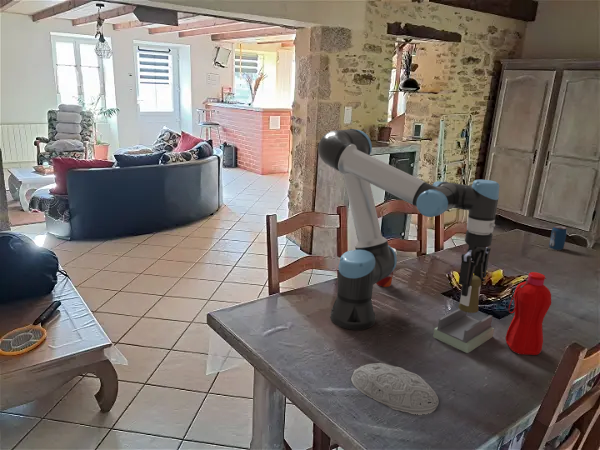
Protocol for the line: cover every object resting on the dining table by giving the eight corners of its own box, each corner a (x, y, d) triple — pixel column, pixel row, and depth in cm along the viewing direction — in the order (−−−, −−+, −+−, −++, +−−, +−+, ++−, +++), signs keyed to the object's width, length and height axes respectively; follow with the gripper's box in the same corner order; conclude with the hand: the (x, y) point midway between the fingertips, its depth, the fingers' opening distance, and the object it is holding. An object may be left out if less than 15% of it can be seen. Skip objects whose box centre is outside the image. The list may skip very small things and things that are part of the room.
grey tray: (467, 353, 137) (470, 332, 135) (433, 337, 146) (435, 317, 144) (492, 336, 147) (496, 317, 145) (459, 322, 156) (462, 304, 154)
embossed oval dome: (432, 424, 106) (435, 397, 105) (337, 390, 119) (339, 367, 118) (448, 395, 119) (451, 371, 118) (361, 368, 132) (362, 346, 131)
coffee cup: (395, 288, 181) (399, 253, 177) (374, 287, 181) (378, 252, 177) (391, 280, 189) (395, 246, 185) (372, 279, 190) (375, 245, 185)
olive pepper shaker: (479, 306, 145) (484, 274, 142) (477, 314, 139) (482, 281, 136) (459, 302, 147) (463, 271, 144) (457, 310, 142) (461, 277, 139)
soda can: (564, 248, 240) (569, 227, 237) (561, 251, 235) (565, 229, 232) (550, 245, 245) (554, 224, 241) (546, 248, 240) (551, 226, 236)
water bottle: (496, 339, 145) (509, 267, 138) (530, 341, 145) (545, 268, 138) (507, 355, 137) (522, 279, 130) (544, 357, 136) (561, 280, 129)
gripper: (476, 240, 128) (465, 314, 134) (505, 229, 140) (494, 298, 146) (452, 233, 133) (442, 305, 140) (482, 224, 145) (472, 290, 151)
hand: (469, 301), depth 143 cm, fingers closed on olive pepper shaker, 5 cm apart
